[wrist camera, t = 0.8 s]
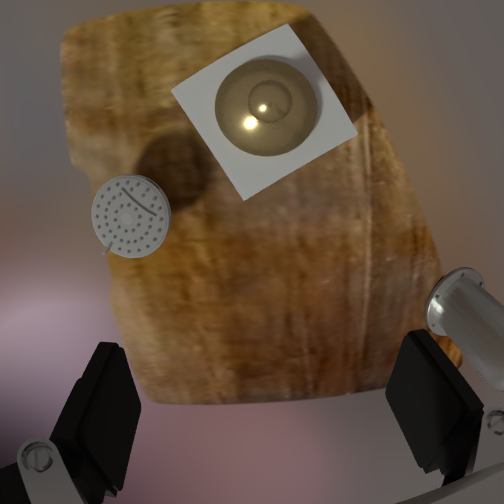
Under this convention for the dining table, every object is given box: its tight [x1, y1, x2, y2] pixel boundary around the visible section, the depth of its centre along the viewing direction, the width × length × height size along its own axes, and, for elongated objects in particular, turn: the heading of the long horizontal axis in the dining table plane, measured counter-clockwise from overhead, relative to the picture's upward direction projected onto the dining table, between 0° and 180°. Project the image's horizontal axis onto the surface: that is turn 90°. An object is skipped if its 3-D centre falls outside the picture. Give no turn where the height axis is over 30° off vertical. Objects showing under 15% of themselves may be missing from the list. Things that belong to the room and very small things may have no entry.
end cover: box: [215, 59, 318, 157], centre depth 28 cm, size 10×10×10 cm
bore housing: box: [170, 24, 358, 201], centre depth 32 cm, size 14×14×6 cm
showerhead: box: [92, 174, 171, 258], centre depth 35 cm, size 9×7×10 cm
